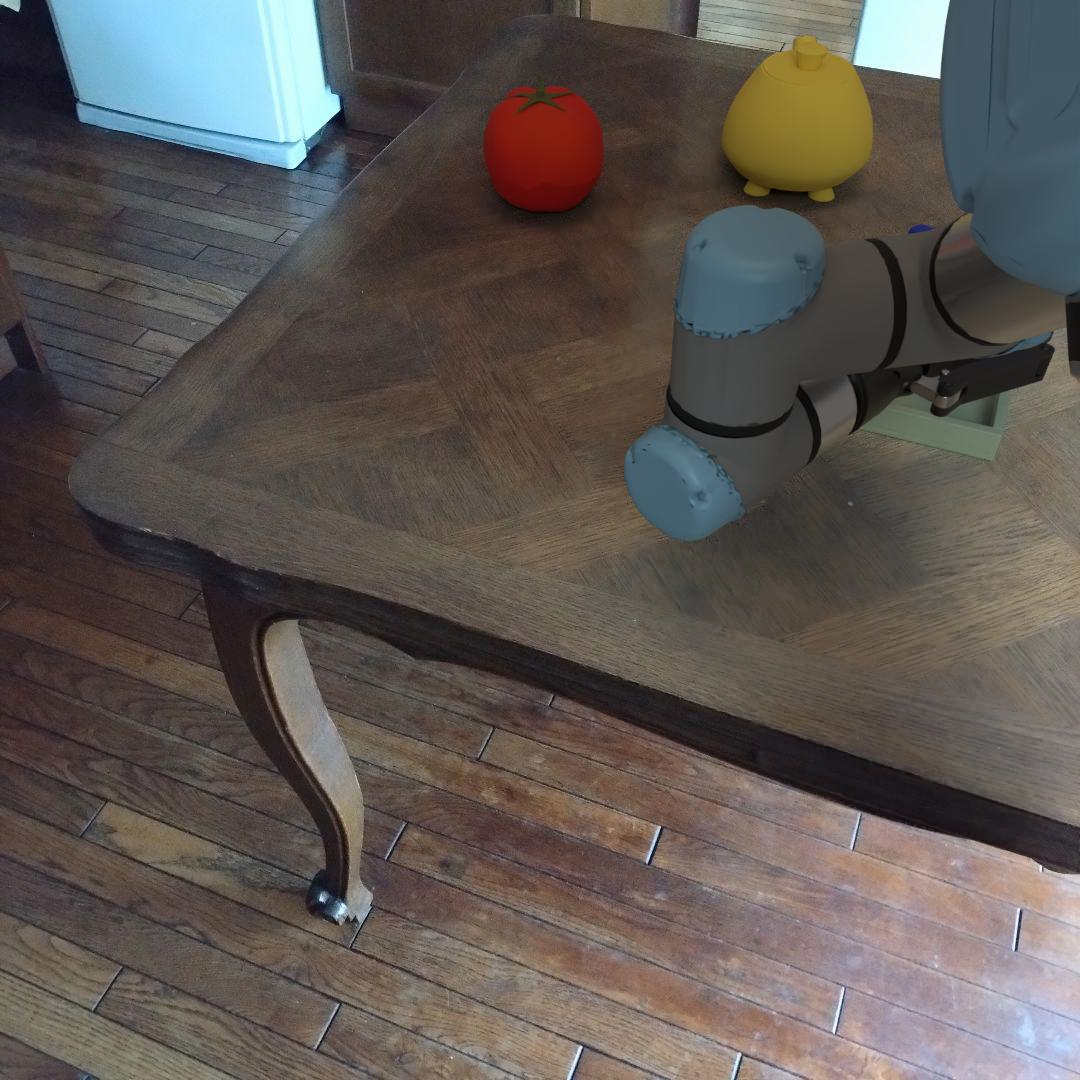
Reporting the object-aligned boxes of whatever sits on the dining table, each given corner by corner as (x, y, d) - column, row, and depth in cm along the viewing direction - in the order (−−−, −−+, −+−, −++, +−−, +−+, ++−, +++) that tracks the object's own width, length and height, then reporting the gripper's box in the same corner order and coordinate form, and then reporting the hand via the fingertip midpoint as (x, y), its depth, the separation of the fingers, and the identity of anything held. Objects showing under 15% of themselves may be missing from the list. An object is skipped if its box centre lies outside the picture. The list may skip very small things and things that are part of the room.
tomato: (560, 162, 117) (561, 55, 109) (629, 213, 109) (636, 101, 101) (463, 191, 113) (456, 81, 105) (528, 246, 105) (526, 132, 97)
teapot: (724, 123, 124) (739, -2, 114) (861, 133, 122) (888, 7, 112) (711, 206, 110) (727, 72, 100) (865, 219, 108) (896, 84, 98)
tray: (992, 461, 82) (1003, 435, 80) (769, 407, 87) (774, 381, 85) (1019, 315, 96) (1028, 290, 94) (825, 275, 101) (830, 251, 99)
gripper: (681, 361, 80) (855, 257, 91) (951, 520, 68) (1117, 379, 78) (690, 274, 75) (874, 174, 85) (985, 430, 63) (1158, 291, 73)
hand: (991, 272), depth 82 cm, fingers closed on mug, 11 cm apart
